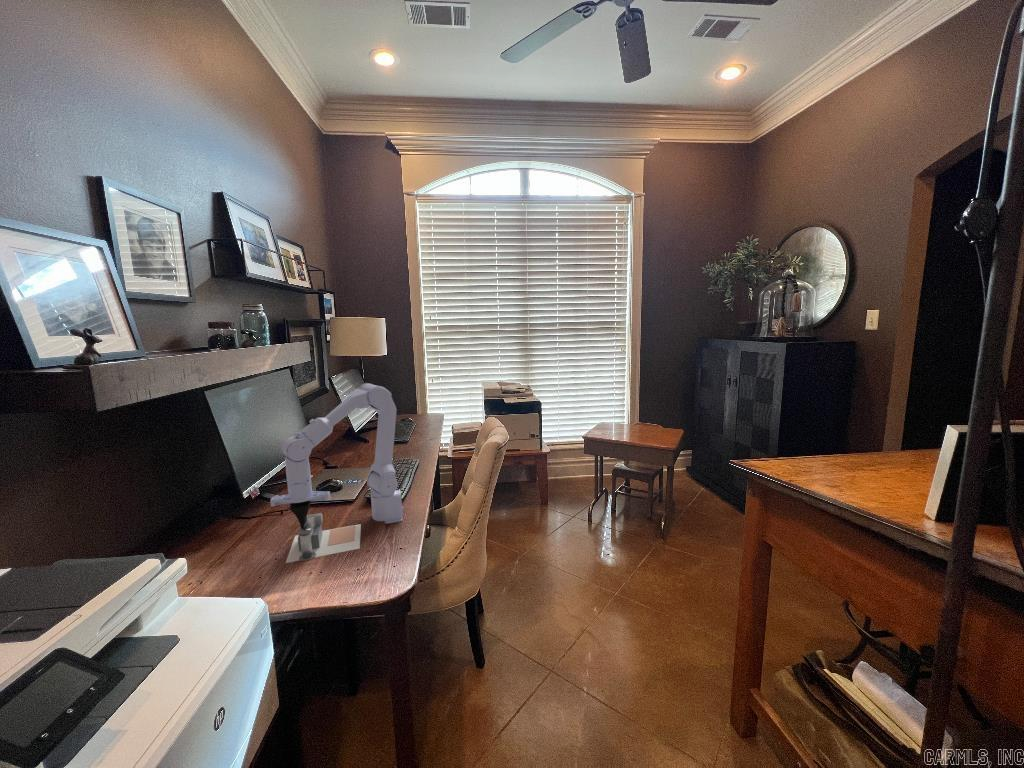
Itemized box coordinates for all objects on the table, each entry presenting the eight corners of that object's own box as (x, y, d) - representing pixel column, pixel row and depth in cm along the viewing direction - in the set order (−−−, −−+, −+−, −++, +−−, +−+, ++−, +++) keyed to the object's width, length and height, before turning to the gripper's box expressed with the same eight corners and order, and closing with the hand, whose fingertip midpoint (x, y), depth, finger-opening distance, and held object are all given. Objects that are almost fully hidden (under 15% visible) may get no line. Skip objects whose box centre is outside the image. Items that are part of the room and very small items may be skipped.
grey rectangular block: (322, 534, 113) (321, 522, 112) (319, 547, 106) (318, 534, 105) (303, 538, 111) (302, 525, 110) (299, 551, 104) (297, 537, 104)
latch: (324, 534, 112) (321, 510, 111) (316, 557, 101) (313, 531, 100) (305, 537, 111) (302, 513, 110) (295, 560, 100) (292, 534, 98)
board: (361, 526, 119) (360, 523, 118) (359, 553, 105) (359, 550, 104) (295, 538, 112) (295, 535, 112) (285, 568, 99) (284, 564, 98)
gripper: (331, 472, 110) (334, 516, 112) (275, 477, 107) (280, 522, 109) (325, 481, 104) (329, 528, 106) (265, 487, 100) (270, 535, 102)
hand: (303, 526), depth 107 cm, fingers closed, pressing on latch
